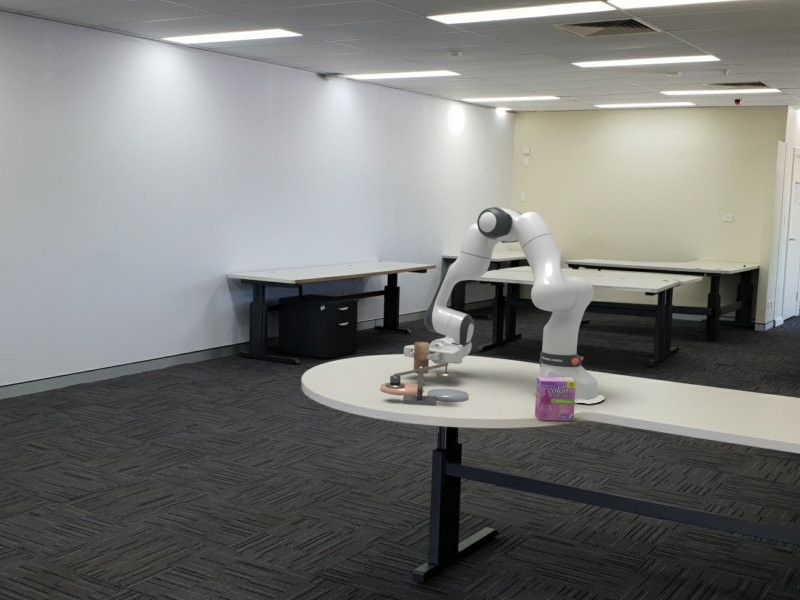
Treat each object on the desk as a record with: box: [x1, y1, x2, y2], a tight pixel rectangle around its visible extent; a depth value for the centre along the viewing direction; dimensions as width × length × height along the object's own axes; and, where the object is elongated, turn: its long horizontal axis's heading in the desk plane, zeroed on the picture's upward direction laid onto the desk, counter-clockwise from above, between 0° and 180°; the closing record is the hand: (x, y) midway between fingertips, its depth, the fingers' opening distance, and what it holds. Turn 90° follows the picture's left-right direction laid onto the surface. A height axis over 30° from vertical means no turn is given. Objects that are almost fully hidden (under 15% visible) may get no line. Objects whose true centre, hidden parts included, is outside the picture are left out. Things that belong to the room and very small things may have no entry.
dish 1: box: [380, 381, 425, 396], centre depth 273 cm, size 14×14×1 cm
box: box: [534, 376, 576, 422], centre depth 243 cm, size 10×6×12 cm, turn 92°
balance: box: [385, 363, 457, 406], centre depth 257 cm, size 21×7×13 cm, turn 87°
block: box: [413, 341, 430, 375], centre depth 282 cm, size 5×5×10 cm
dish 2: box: [426, 388, 469, 403], centre depth 266 cm, size 13×13×1 cm
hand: (420, 356), depth 281 cm, fingers closed on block, 5 cm apart
